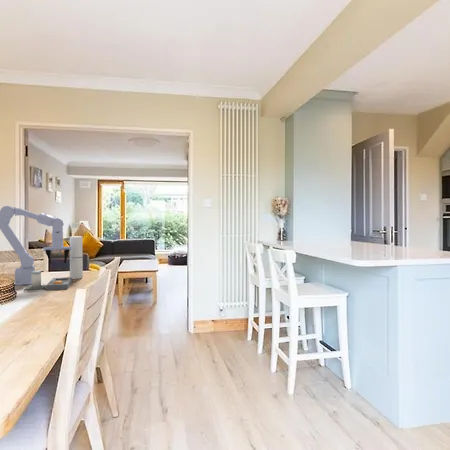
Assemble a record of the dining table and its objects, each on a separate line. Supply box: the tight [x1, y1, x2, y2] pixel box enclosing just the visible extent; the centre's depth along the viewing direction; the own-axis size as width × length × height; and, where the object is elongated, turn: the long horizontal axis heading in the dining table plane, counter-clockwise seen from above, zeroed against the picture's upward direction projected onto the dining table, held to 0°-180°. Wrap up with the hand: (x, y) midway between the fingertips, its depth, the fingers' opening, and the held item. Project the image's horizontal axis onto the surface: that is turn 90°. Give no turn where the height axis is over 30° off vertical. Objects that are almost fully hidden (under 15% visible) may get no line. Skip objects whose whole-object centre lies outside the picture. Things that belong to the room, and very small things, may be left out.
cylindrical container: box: [69, 235, 84, 280], centre depth 218 cm, size 7×7×25 cm
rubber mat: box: [24, 284, 47, 291], centre depth 188 cm, size 9×9×1 cm
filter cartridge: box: [31, 270, 42, 288], centre depth 188 cm, size 5×5×8 cm
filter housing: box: [45, 276, 73, 291], centre depth 195 cm, size 10×22×2 cm, turn 17°
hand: (57, 263), depth 207 cm, fingers open, 7 cm apart
